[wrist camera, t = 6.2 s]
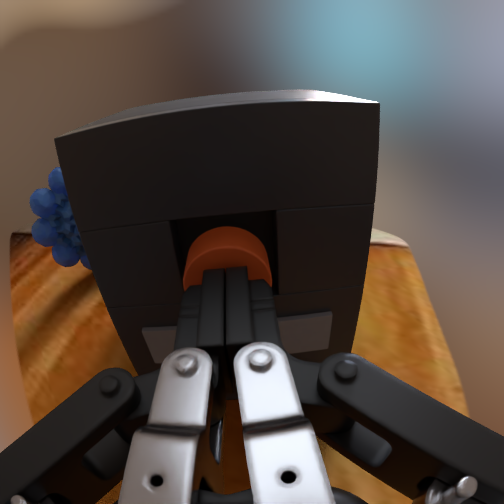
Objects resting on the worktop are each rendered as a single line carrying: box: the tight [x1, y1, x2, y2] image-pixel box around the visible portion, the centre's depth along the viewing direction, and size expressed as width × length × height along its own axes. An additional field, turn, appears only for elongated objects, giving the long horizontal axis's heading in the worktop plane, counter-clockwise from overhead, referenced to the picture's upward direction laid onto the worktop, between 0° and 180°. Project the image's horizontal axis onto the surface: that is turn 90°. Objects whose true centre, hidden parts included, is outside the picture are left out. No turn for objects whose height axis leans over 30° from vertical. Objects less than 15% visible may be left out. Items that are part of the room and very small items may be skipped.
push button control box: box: [54, 90, 380, 400], centre depth 18 cm, size 12×10×16 cm
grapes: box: [30, 167, 92, 270], centre depth 28 cm, size 12×7×12 cm, turn 131°
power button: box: [183, 226, 272, 291], centre depth 12 cm, size 3×2×3 cm, turn 94°
